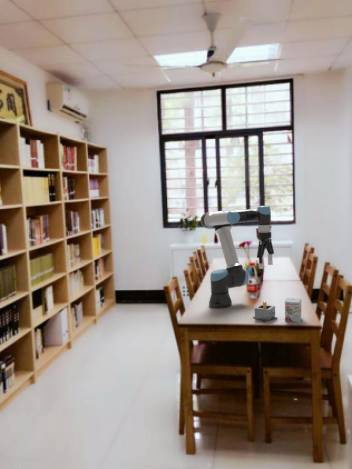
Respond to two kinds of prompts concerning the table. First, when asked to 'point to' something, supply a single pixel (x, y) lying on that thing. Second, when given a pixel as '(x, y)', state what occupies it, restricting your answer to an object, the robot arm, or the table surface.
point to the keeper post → (264, 319)
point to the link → (265, 312)
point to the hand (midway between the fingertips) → (266, 266)
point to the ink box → (293, 310)
